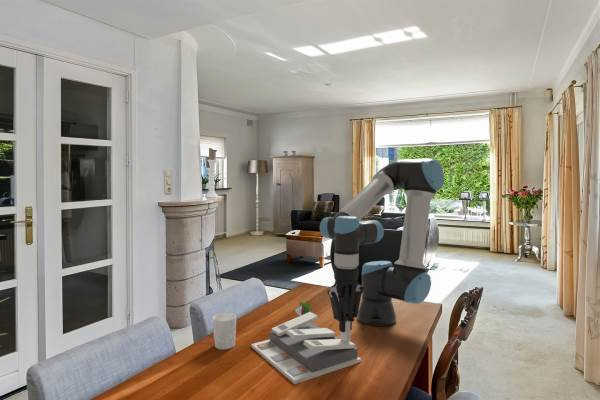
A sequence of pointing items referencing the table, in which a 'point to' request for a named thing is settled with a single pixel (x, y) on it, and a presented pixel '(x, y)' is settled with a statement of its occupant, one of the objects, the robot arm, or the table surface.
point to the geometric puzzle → (303, 308)
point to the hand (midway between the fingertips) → (345, 341)
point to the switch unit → (303, 356)
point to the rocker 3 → (328, 344)
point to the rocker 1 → (294, 323)
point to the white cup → (224, 330)
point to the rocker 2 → (310, 333)
